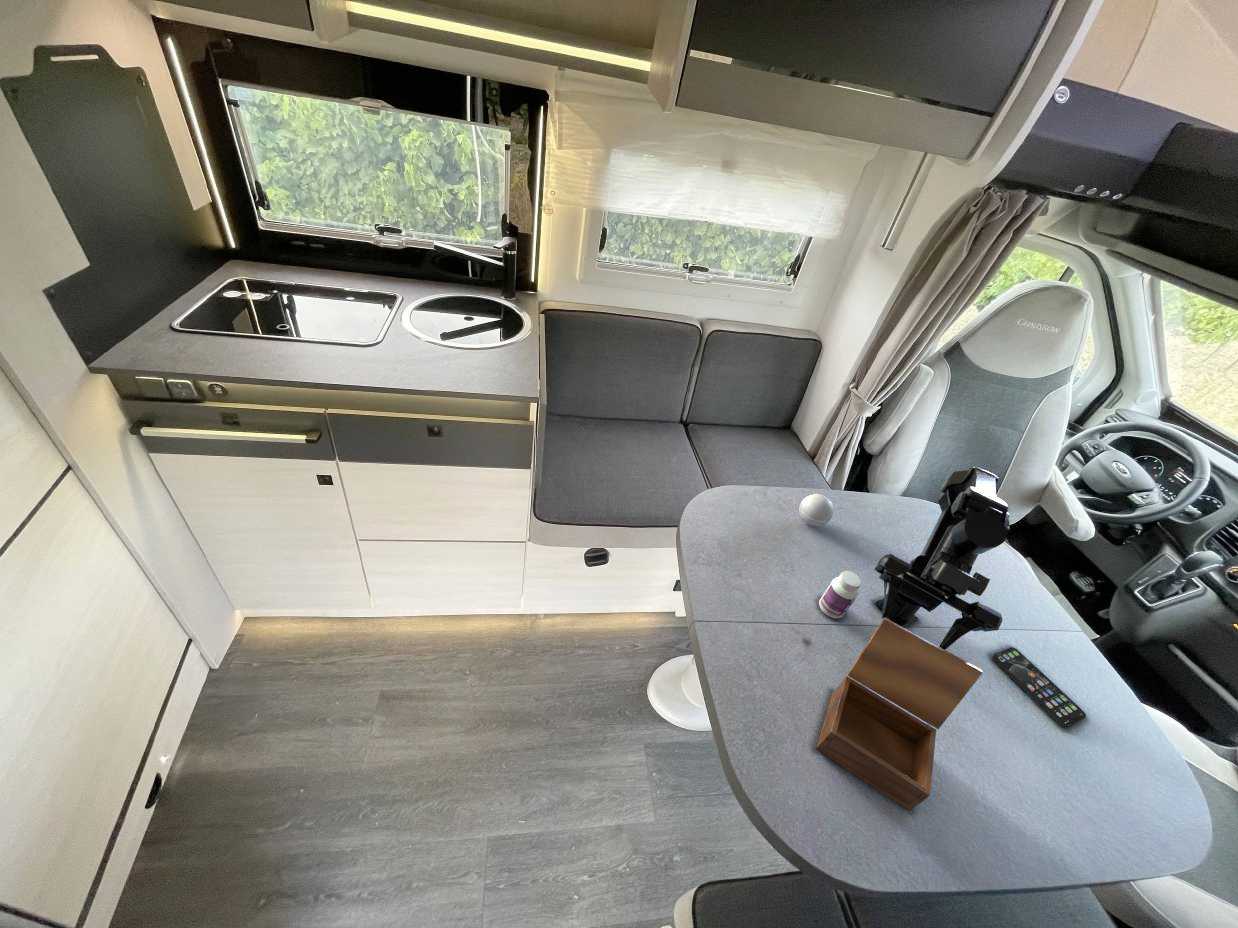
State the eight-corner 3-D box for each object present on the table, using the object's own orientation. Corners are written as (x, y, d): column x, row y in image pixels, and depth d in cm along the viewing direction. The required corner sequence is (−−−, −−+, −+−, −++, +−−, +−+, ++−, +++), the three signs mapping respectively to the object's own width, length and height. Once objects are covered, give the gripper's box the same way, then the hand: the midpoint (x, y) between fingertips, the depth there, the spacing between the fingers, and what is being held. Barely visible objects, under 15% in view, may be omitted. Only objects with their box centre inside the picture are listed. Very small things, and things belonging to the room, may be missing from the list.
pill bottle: (844, 623, 101) (866, 593, 95) (818, 613, 102) (838, 583, 96) (843, 603, 105) (864, 573, 100) (818, 594, 106) (837, 564, 100)
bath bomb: (796, 506, 129) (808, 483, 124) (826, 518, 127) (840, 495, 123) (792, 525, 123) (804, 501, 118) (824, 537, 121) (838, 513, 116)
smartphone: (1013, 645, 103) (1088, 715, 92) (1011, 647, 103) (1086, 717, 93) (991, 654, 100) (1066, 727, 89) (989, 656, 100) (1063, 729, 90)
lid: (983, 672, 75) (982, 669, 75) (884, 619, 80) (884, 617, 80) (938, 729, 79) (937, 726, 80) (847, 675, 84) (847, 673, 85)
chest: (909, 810, 75) (930, 795, 71) (815, 748, 80) (830, 731, 76) (917, 745, 83) (936, 729, 80) (832, 693, 88) (846, 675, 85)
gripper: (911, 517, 82) (865, 597, 80) (1038, 581, 75) (991, 671, 72) (895, 532, 92) (853, 604, 90) (1005, 590, 85) (963, 669, 82)
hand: (910, 634), depth 83 cm, fingers open, 9 cm apart
